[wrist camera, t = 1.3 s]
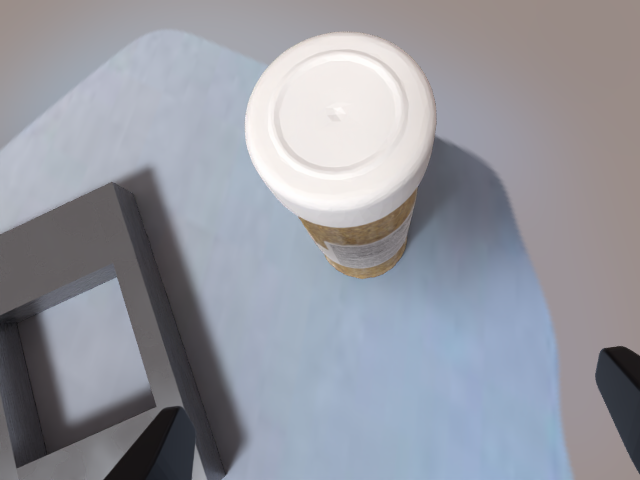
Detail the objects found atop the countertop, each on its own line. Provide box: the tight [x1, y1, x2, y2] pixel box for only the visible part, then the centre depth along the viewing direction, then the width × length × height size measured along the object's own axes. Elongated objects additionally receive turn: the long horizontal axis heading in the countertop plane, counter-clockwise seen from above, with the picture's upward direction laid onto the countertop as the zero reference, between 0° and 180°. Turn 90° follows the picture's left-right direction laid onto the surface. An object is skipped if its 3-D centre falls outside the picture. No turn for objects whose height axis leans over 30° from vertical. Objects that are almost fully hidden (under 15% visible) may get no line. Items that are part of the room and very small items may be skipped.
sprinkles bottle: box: [245, 32, 436, 279], centre depth 16 cm, size 5×5×13 cm
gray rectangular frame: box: [0, 182, 226, 480], centre depth 23 cm, size 16×10×2 cm, turn 23°
